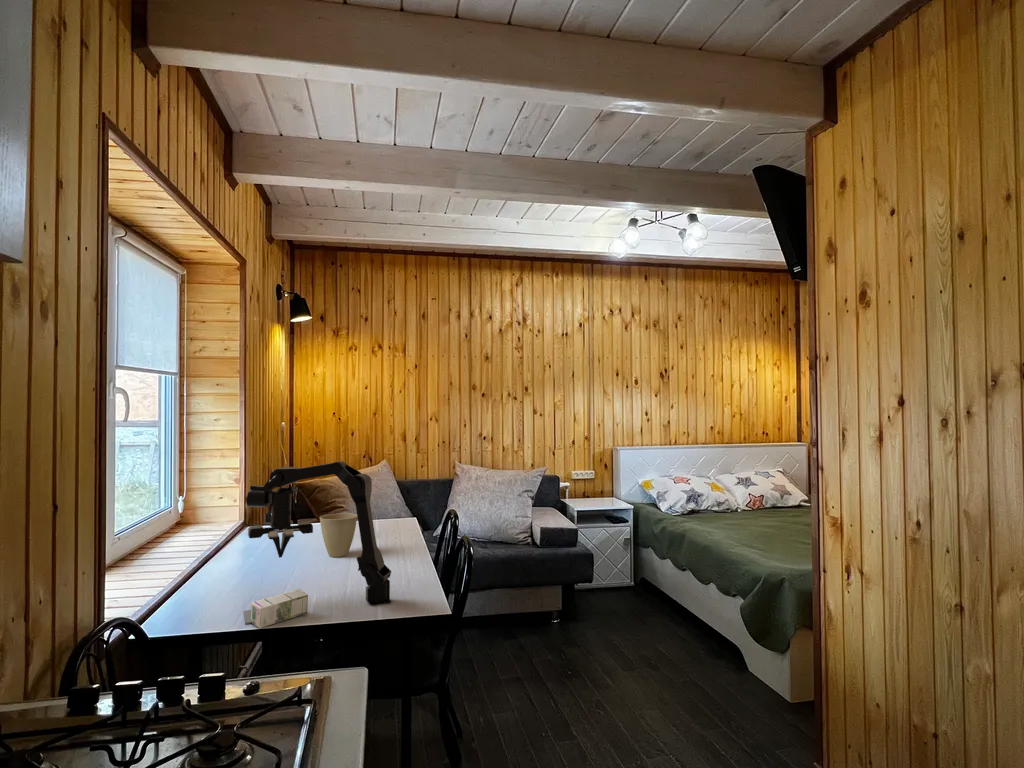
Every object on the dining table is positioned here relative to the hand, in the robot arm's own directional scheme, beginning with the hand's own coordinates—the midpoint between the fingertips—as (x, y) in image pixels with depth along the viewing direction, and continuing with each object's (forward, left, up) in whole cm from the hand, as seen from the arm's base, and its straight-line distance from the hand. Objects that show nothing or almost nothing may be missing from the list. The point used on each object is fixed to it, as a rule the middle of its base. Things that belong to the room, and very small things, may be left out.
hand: (280, 557), depth 184 cm
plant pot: (-27, -49, -14) cm, 57 cm away
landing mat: (+4, +13, -13) cm, 19 cm away
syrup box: (-5, +16, -10) cm, 19 cm away
